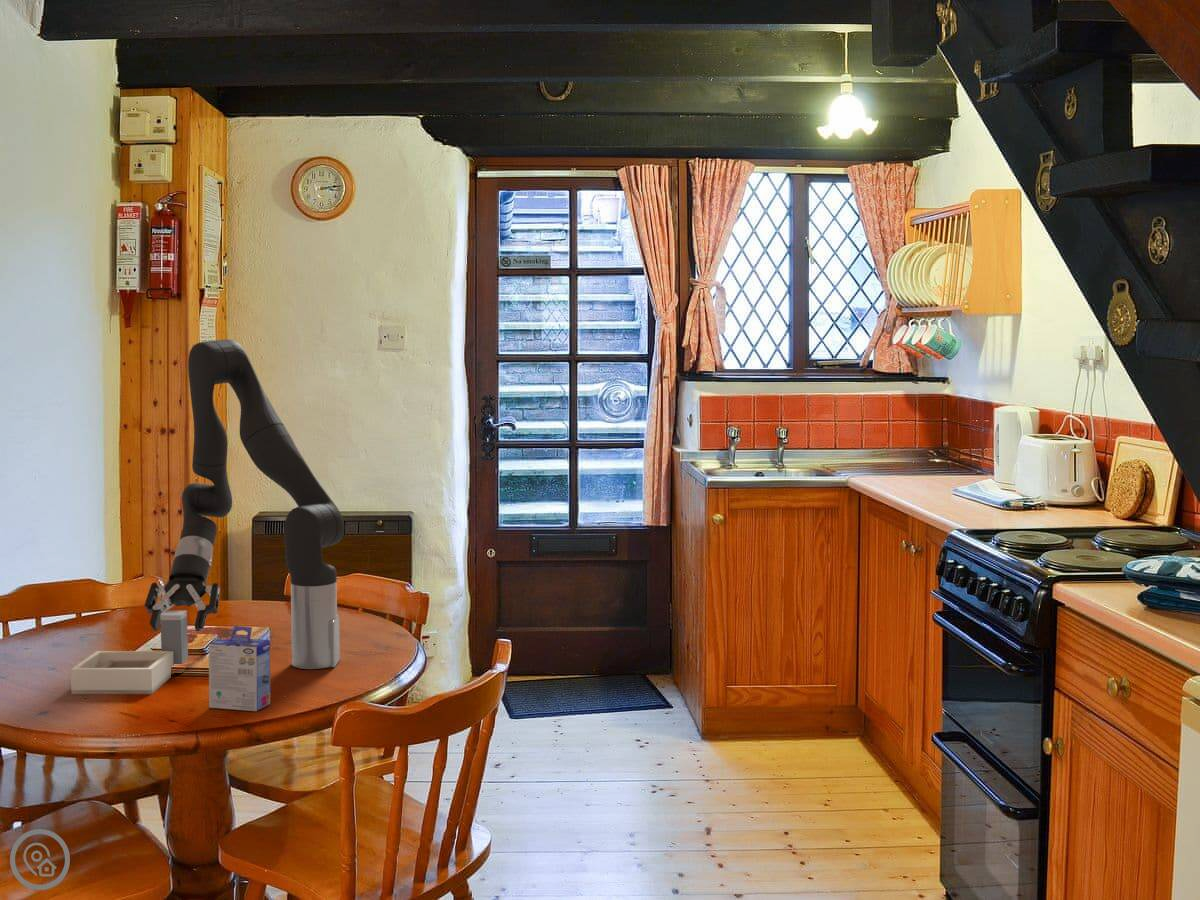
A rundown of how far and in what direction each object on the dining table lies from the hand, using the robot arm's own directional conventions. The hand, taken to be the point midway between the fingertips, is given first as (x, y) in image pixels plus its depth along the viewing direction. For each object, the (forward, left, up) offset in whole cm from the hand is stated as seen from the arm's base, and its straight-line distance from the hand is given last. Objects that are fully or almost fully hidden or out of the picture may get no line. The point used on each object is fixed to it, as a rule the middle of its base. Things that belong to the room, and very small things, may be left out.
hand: (176, 629), depth 243 cm
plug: (0, +1, -8) cm, 8 cm away
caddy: (+7, +10, -8) cm, 15 cm away
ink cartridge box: (-19, +24, -8) cm, 32 cm away
